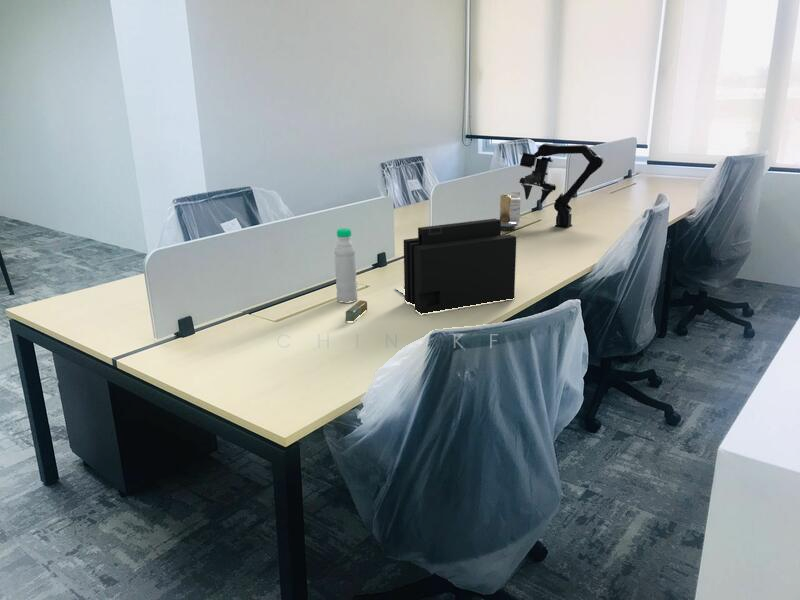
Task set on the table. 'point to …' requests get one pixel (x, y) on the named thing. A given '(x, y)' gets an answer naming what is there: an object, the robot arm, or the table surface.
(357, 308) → the medication box
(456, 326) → the table surface
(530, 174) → the robot arm
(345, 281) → the water bottle
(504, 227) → the turntable base
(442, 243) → the game console
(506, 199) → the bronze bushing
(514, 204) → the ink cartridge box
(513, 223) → the turntable platter
